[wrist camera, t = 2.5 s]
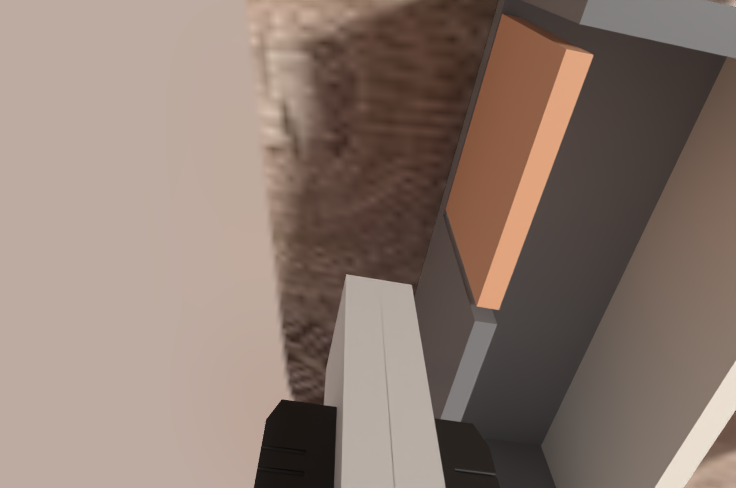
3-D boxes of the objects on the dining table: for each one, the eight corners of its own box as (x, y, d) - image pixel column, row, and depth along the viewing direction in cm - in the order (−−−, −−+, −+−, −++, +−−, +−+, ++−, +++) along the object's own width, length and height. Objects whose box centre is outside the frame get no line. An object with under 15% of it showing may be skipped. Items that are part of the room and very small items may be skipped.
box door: (502, 13, 23) (566, 48, 16) (521, 17, 23) (593, 54, 16) (445, 208, 27) (476, 306, 20) (462, 211, 27) (498, 310, 20)
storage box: (509, -40, 23) (596, -25, 15) (758, 17, 24) (970, 61, 16) (377, 426, 35) (383, 580, 27) (548, 449, 36) (605, 603, 28)
